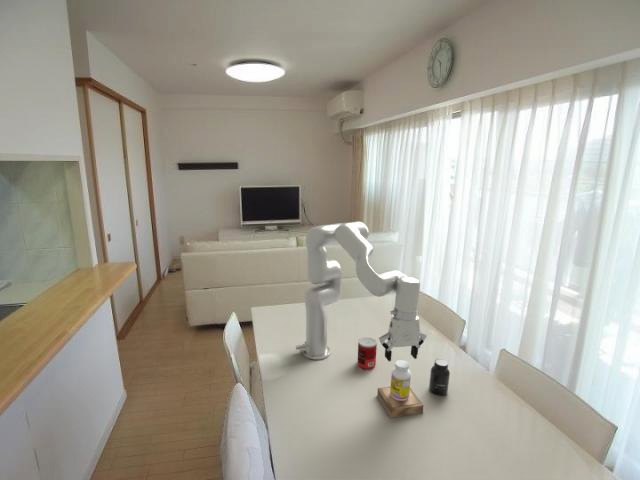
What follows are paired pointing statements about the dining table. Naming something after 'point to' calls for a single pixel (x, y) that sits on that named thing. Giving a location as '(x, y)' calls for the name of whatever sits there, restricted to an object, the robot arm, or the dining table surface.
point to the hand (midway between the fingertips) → (400, 358)
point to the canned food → (367, 353)
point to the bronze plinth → (399, 403)
